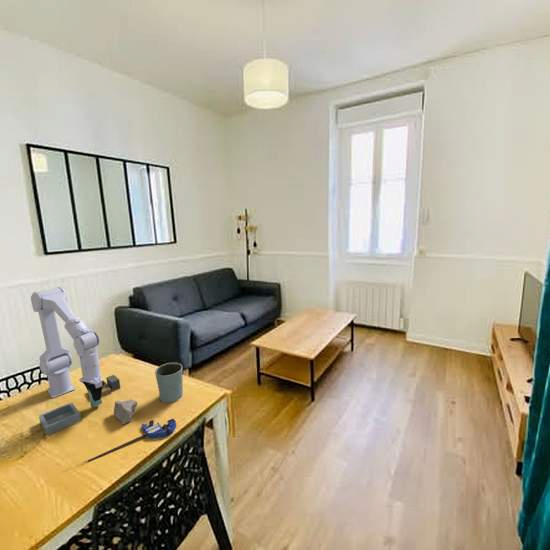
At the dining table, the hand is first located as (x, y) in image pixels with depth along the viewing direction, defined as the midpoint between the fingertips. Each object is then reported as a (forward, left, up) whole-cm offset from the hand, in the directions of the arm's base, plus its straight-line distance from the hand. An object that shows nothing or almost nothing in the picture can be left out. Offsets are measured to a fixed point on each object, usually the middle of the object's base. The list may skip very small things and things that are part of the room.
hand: (95, 397), depth 115 cm
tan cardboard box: (-9, +4, -4) cm, 11 cm away
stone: (+14, +5, -4) cm, 16 cm away
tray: (0, -11, -4) cm, 12 cm away
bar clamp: (+28, -1, -4) cm, 29 cm away
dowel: (0, 0, -2) cm, 2 cm away
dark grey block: (-9, +10, -4) cm, 14 cm away
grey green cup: (+16, +22, -4) cm, 28 cm away
